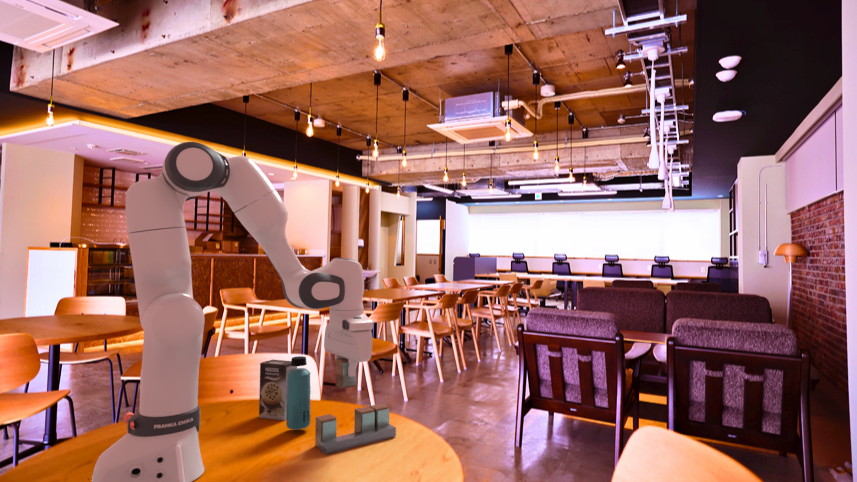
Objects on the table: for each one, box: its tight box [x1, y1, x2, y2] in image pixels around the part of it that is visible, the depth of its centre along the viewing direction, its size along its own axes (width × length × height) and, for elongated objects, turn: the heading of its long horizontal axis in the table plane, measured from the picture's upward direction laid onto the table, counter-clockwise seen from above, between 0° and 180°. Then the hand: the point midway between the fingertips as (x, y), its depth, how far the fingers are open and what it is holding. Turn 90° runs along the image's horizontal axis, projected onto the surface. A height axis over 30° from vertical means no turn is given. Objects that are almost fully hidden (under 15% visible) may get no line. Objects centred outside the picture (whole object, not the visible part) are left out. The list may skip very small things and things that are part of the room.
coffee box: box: [258, 359, 298, 421], centre depth 142 cm, size 9×6×16 cm
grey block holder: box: [314, 403, 397, 456], centre depth 122 cm, size 20×7×7 cm, turn 127°
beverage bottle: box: [285, 355, 312, 430], centre depth 130 cm, size 6×7×20 cm
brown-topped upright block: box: [335, 358, 357, 390], centre depth 123 cm, size 4×4×7 cm
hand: (346, 374), depth 123 cm, fingers closed on brown-topped upright block, 4 cm apart
